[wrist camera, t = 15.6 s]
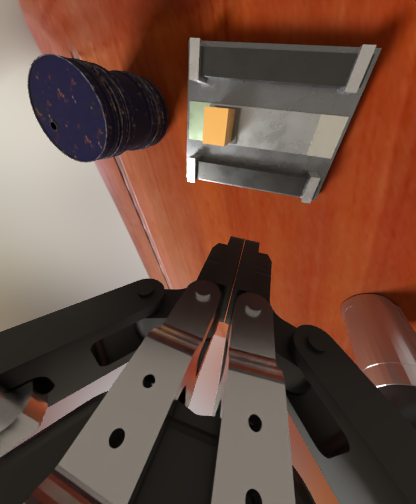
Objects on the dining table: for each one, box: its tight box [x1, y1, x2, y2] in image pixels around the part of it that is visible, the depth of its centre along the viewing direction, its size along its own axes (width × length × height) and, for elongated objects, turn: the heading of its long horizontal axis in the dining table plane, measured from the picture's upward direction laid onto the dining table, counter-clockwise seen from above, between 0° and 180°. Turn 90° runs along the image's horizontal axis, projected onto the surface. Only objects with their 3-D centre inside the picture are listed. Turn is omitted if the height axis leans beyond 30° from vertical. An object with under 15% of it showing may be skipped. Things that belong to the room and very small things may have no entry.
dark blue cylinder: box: [28, 54, 168, 162], centre depth 27 cm, size 10×10×15 cm
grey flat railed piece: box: [187, 38, 382, 203], centre depth 27 cm, size 22×17×5 cm
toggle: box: [203, 105, 241, 146], centre depth 27 cm, size 4×4×5 cm
